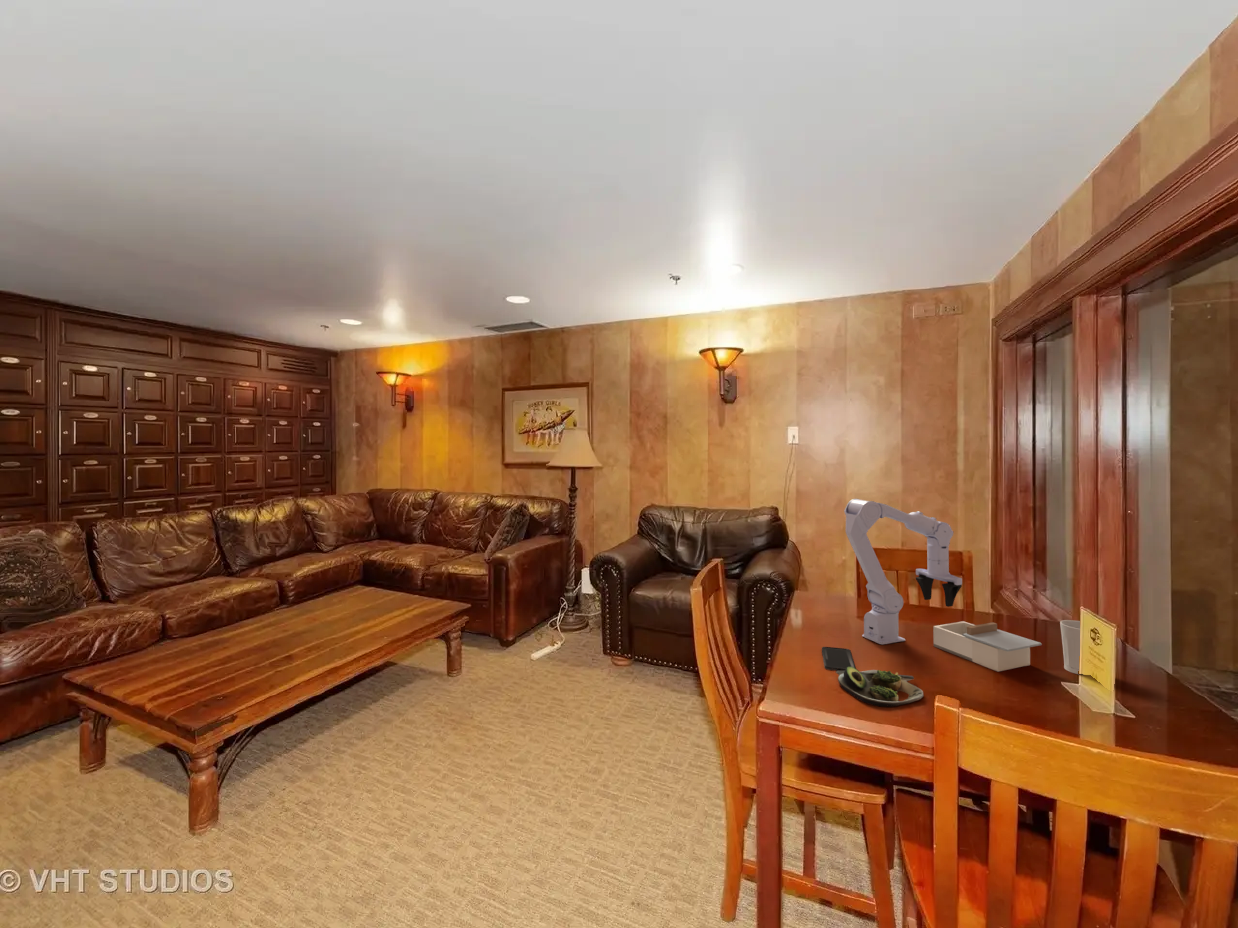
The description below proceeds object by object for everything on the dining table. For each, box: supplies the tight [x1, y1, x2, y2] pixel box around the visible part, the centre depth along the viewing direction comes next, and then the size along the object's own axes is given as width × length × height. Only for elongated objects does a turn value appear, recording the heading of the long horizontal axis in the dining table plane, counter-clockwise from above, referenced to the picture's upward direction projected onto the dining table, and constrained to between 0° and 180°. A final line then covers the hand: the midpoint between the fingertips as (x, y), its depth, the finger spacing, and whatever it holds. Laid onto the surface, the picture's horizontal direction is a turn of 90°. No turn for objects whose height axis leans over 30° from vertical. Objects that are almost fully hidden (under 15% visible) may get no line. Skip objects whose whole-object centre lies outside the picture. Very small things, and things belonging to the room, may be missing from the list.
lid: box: [962, 622, 1042, 652], centre depth 141 cm, size 12×12×2 cm
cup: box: [1059, 619, 1081, 675], centre depth 135 cm, size 8×8×12 cm
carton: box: [932, 620, 1031, 672], centre depth 147 cm, size 12×19×6 cm, turn 18°
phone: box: [821, 646, 856, 672], centre depth 146 cm, size 8×1×15 cm
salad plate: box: [834, 667, 925, 708], centre depth 128 cm, size 19×18×5 cm
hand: (938, 602), depth 162 cm, fingers open, 7 cm apart
